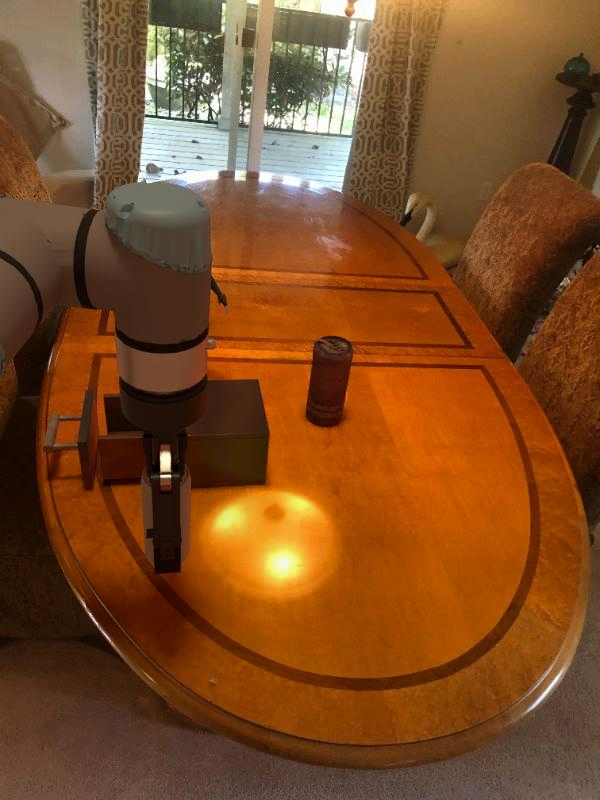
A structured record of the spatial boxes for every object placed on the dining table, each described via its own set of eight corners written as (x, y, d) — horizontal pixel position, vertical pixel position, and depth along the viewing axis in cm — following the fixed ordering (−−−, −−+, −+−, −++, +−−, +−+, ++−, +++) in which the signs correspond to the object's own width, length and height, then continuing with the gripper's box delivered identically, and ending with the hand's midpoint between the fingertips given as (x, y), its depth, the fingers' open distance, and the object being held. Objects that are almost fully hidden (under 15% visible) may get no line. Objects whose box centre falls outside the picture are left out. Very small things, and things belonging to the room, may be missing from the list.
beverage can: (135, 555, 66) (129, 475, 59) (167, 529, 70) (165, 450, 63) (168, 579, 65) (166, 499, 57) (199, 551, 68) (201, 472, 61)
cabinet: (160, 489, 85) (158, 436, 80) (160, 431, 95) (158, 380, 89) (265, 484, 88) (270, 432, 83) (254, 428, 98) (258, 378, 92)
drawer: (45, 487, 82) (36, 443, 78) (56, 433, 91) (48, 390, 87) (185, 480, 86) (184, 438, 81) (182, 428, 95) (182, 387, 90)
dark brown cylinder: (307, 401, 105) (317, 330, 97) (344, 408, 105) (356, 338, 96) (300, 422, 100) (309, 349, 92) (338, 430, 100) (351, 357, 92)
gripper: (214, 438, 47) (207, 618, 61) (202, 320, 61) (198, 489, 74) (112, 441, 45) (128, 625, 59) (123, 320, 59) (134, 492, 73)
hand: (167, 549), depth 67 cm, fingers closed on beverage can, 5 cm apart
